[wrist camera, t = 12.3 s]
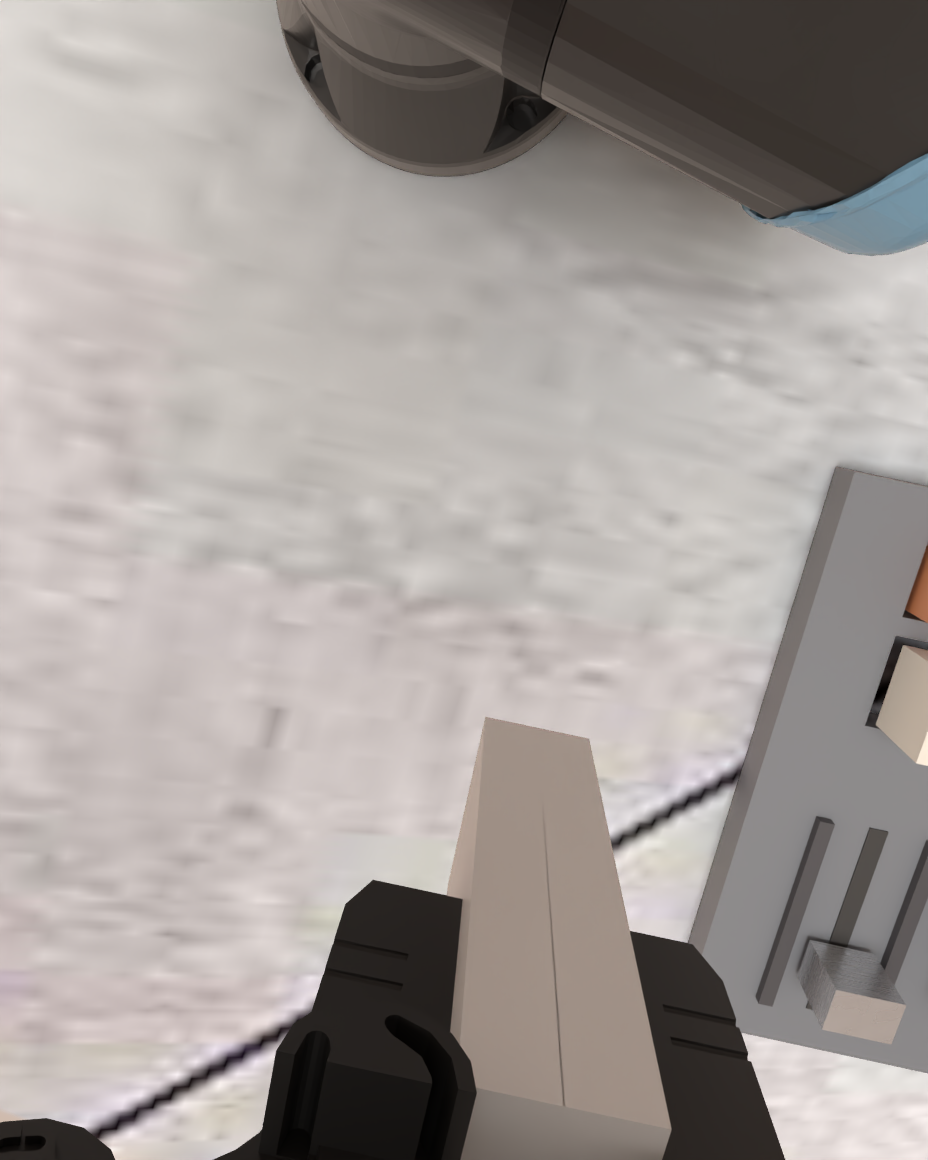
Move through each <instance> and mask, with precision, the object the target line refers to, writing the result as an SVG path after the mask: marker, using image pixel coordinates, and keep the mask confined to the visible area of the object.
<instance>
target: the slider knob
mask: <svg viewBox="0 0 928 1160" xmlns="http://www.w3.org/2000/svg"><path fill="white" fill-rule="evenodd" d="M797 978H798V980H799V982H800V984H801V986H802V988H803V991H804V993H805V995H806V997H807V999H808V1001H809V1003H810V1005H811V1007H812V1009H813V1012H814V1014H815V1016H816V1018H817V1020H818V1022H819V1024H820V1026H821V1028H822V1030H826V1031H831V1032H836V1033H840V1034H845V1035H849V1036H854V1037H859V1038H863V1039H868V1040H872V1041H877V1042H881V1043H886V1044H892V1041H893V1039H894V1036H895V1034H896V1031H897V1028H898V1026H899V1023H900V1021H901V1018H902V1016H903V1013H904V1010H905V1008H906V1004H905V1002H904V1000H903V999H902V997H901V996H900V994H899V992H898V991H897V989H896V988H895V986H894V984H893V983H892V981H891V980H890V978H889V977H888V975H887V973H886V972H885V970H884V969H883V967H882V965H881V964H880V962H879V961H878V959H877V957H876V956H875V954H873V953H868V952H864V951H859V950H854V949H850V948H845V947H841V946H836V945H831V944H827V943H822V942H818V941H813V940H810V941H809V944H808V947H807V949H806V952H805V955H804V958H803V961H802V964H801V967H800V970H799V972H798V975H797Z"/></svg>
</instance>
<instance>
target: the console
mask: <svg viewBox="0 0 928 1160" xmlns="http://www.w3.org/2000/svg"><path fill="white" fill-rule="evenodd" d="M927 544H928V486H924V485H919V484H915V483H910V482H905V481H901V480H896V479H891V478H887V477H882V476H877V475H873V474H868V473H864V472H859V471H854V470H850V469H845V468H840V467H836V468H835V472H834V475H833V478H832V481H831V485H830V488H829V491H828V494H827V497H826V501H825V504H824V507H823V510H822V514H821V517H820V520H819V523H818V526H817V530H816V533H815V536H814V539H813V542H812V546H811V549H810V552H809V555H808V559H807V562H806V565H805V568H804V571H803V575H802V578H801V581H800V584H799V588H798V591H797V594H796V597H795V600H794V604H793V607H792V610H791V613H790V617H789V620H788V623H787V626H786V629H785V633H784V636H783V639H782V642H781V645H780V649H779V652H778V655H777V658H776V662H775V665H774V668H773V671H772V674H771V678H770V681H769V684H768V687H767V691H766V694H765V697H764V700H763V703H762V707H761V710H760V713H759V716H758V720H757V723H756V726H755V729H754V732H753V736H752V739H751V742H750V745H749V749H748V752H747V755H746V758H745V761H744V765H743V768H742V771H741V774H740V777H739V781H738V784H737V787H736V790H735V794H734V797H733V800H732V803H731V806H730V810H729V813H728V816H727V819H726V823H725V826H724V829H723V832H722V835H721V839H720V842H719V845H718V848H717V852H716V855H715V858H714V861H713V864H712V868H711V871H710V874H709V877H708V880H707V884H706V887H705V890H704V893H703V897H702V900H701V903H700V906H699V909H698V913H697V916H696V919H695V922H694V926H693V929H692V932H691V935H690V938H689V942H688V943H689V944H693V945H694V946H695V948H696V949H697V950H698V951H699V953H700V954H701V955H702V956H703V957H704V959H705V960H706V961H707V962H708V963H709V965H710V966H711V967H712V968H713V969H714V971H715V972H716V973H717V974H718V976H719V977H720V978H721V979H722V980H723V983H724V985H725V988H726V991H727V994H728V997H729V1000H730V1003H731V1006H732V1008H733V1011H734V1014H735V1017H736V1027H739V1029H740V1031H741V1033H746V1034H750V1035H755V1036H759V1037H764V1038H769V1039H773V1040H778V1041H782V1042H787V1043H791V1044H796V1045H801V1046H805V1047H810V1048H814V1049H819V1050H823V1051H828V1052H833V1053H837V1054H842V1055H846V1056H851V1057H856V1058H860V1059H865V1060H869V1061H874V1062H878V1063H883V1064H888V1065H892V1066H897V1067H901V1068H906V1069H910V1070H915V1071H920V1072H924V1073H928V766H926V765H921V764H916V763H915V762H914V761H913V760H912V759H911V758H910V757H909V756H908V755H907V754H906V753H905V752H904V751H903V750H902V749H900V748H899V747H898V746H897V745H896V744H895V743H894V742H893V741H892V740H891V739H890V738H889V737H888V736H887V735H886V734H885V733H884V732H883V731H882V730H881V729H880V728H879V727H878V726H876V722H877V719H878V716H879V715H878V714H873V713H870V710H871V707H872V704H873V701H874V698H875V695H876V692H877V689H878V686H879V683H880V681H881V678H882V675H883V672H884V669H885V666H886V663H887V660H888V657H889V654H890V651H891V648H892V646H893V643H894V640H895V637H896V636H900V637H904V638H909V639H913V640H918V641H923V642H927V643H928V623H926V622H925V621H923V620H921V619H920V618H918V617H916V616H915V615H913V614H911V613H910V612H908V611H906V610H905V608H906V605H907V602H908V599H909V596H910V593H911V590H912V587H913V584H914V581H915V579H916V576H917V573H918V570H919V567H920V564H921V561H922V558H923V555H924V552H925V549H926V546H927ZM810 940H813V941H818V942H822V943H827V944H831V945H836V946H841V947H845V948H850V949H854V950H859V951H864V952H868V953H873V954H875V956H876V957H877V959H878V961H879V962H880V964H881V965H882V967H883V969H884V970H885V972H886V973H887V975H888V977H889V978H890V980H891V981H892V983H893V984H894V986H895V988H896V989H897V991H898V992H899V994H900V996H901V997H902V999H903V1000H904V1002H905V1004H906V1008H905V1010H904V1013H903V1016H902V1018H901V1021H900V1023H899V1026H898V1028H897V1031H896V1034H895V1036H894V1039H893V1041H892V1044H886V1043H881V1042H877V1041H872V1040H868V1039H863V1038H859V1037H854V1036H849V1035H845V1034H840V1033H836V1032H831V1031H826V1030H822V1028H821V1026H820V1024H819V1022H818V1020H817V1018H816V1016H815V1014H814V1012H813V1009H812V1007H811V1005H810V1003H809V1001H808V999H807V997H806V995H805V993H804V991H803V988H802V986H801V984H800V982H799V980H798V978H797V975H798V972H799V970H800V967H801V964H802V961H803V958H804V955H805V952H806V949H807V947H808V944H809V941H810Z"/></svg>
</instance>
